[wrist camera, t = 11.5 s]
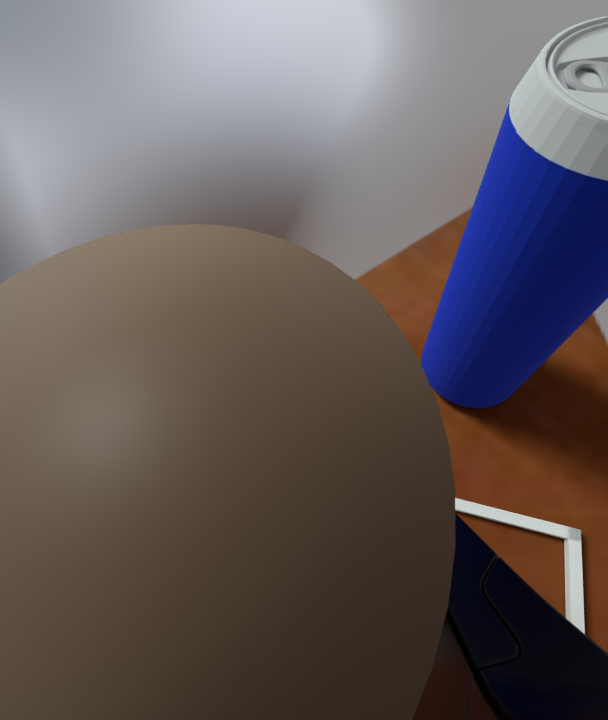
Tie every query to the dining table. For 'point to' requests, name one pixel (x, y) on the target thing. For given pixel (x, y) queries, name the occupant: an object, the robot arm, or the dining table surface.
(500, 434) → the dining table surface
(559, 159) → the beverage can
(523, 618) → the robot arm
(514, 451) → the dining table surface
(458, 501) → the white rectangular frame
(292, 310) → the brown lumpy cylinder
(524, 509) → the dining table surface
